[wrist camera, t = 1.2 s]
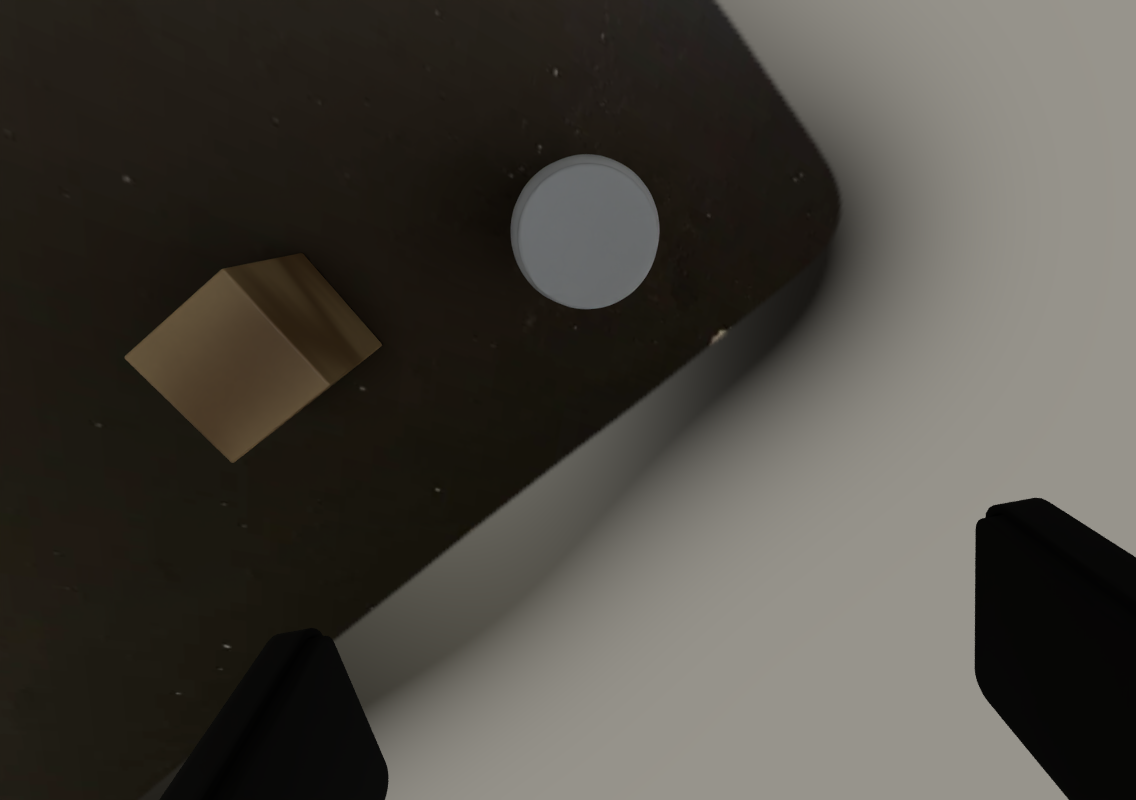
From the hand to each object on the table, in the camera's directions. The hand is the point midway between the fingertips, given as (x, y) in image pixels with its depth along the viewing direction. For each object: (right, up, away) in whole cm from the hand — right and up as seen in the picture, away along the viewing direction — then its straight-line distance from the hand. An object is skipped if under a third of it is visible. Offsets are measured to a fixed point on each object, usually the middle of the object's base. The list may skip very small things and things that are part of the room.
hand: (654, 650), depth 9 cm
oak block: (-13, +7, +17) cm, 23 cm away
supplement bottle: (-1, +11, +16) cm, 19 cm away
